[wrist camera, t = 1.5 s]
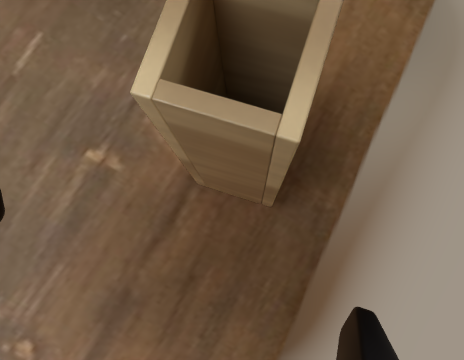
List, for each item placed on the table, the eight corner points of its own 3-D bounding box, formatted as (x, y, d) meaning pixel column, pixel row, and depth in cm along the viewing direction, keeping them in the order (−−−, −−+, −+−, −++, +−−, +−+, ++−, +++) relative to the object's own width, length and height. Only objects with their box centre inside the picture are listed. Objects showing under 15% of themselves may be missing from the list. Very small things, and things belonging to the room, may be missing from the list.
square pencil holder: (271, 207, 21) (299, 143, 9) (196, 184, 22) (128, 92, 10) (296, 128, 22) (352, -28, 10) (223, 107, 23) (191, -68, 10)
